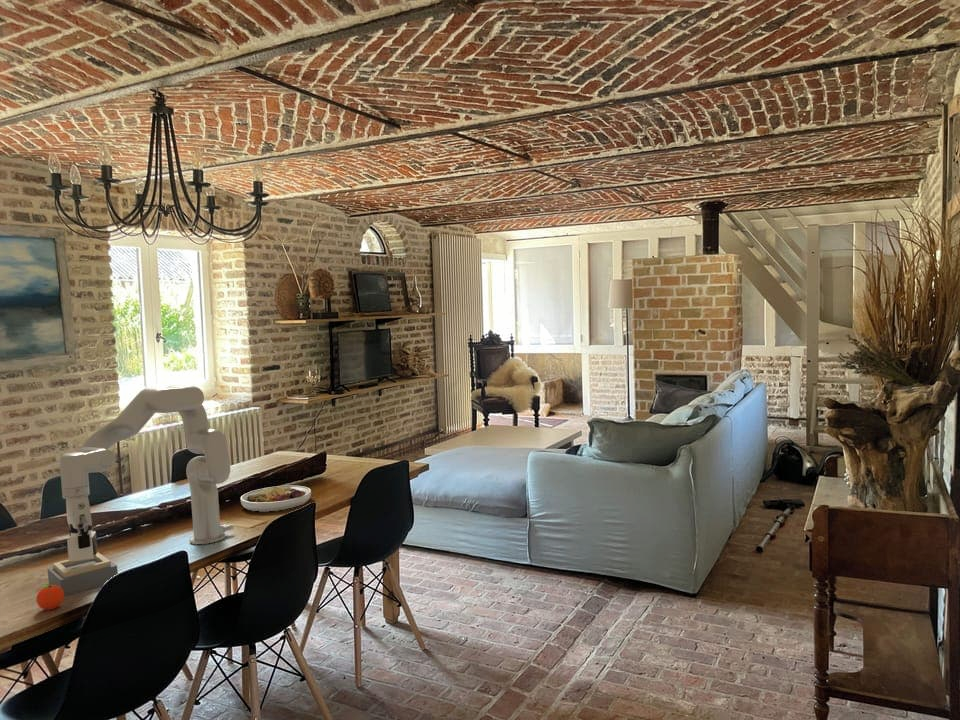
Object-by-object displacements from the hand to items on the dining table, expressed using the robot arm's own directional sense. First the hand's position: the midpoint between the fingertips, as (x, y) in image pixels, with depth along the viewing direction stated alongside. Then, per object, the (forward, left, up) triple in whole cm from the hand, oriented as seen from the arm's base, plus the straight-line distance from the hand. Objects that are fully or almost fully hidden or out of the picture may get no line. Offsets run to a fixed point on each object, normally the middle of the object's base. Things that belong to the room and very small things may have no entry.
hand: (80, 544), depth 225 cm
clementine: (+13, +16, -13) cm, 24 cm away
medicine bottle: (-1, 0, -4) cm, 4 cm away
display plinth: (0, 0, -12) cm, 12 cm away
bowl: (-87, -37, -13) cm, 95 cm away
